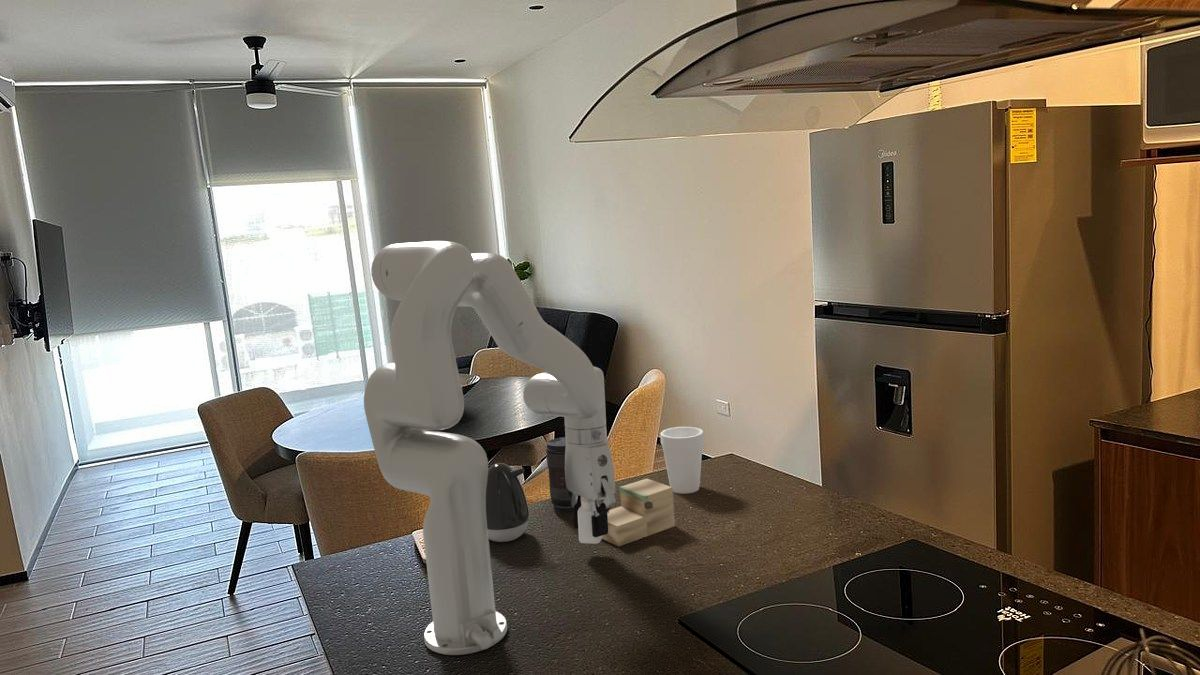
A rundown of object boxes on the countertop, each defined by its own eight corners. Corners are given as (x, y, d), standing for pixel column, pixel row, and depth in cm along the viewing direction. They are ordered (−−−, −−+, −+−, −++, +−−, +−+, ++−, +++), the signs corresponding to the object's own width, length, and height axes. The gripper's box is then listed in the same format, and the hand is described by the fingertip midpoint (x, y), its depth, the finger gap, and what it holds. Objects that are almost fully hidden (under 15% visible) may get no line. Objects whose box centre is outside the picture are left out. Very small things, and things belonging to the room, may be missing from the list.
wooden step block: (678, 527, 164) (675, 488, 163) (621, 548, 156) (619, 507, 155) (649, 515, 172) (646, 478, 170) (593, 534, 164) (590, 495, 162)
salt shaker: (583, 536, 156) (580, 487, 155) (604, 537, 156) (601, 487, 154) (578, 544, 152) (575, 493, 151) (599, 544, 152) (597, 494, 150)
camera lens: (595, 504, 181) (590, 437, 178) (574, 517, 174) (569, 447, 172) (565, 499, 185) (559, 434, 183) (543, 512, 178) (537, 444, 176)
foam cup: (661, 496, 183) (658, 438, 181) (665, 482, 192) (662, 427, 190) (705, 495, 181) (702, 437, 179) (707, 481, 190) (704, 426, 188)
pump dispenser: (519, 549, 159) (512, 472, 157) (470, 545, 163) (463, 470, 160) (540, 528, 169) (533, 456, 167) (493, 526, 172) (486, 455, 170)
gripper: (631, 438, 147) (635, 538, 149) (576, 424, 161) (581, 515, 163) (596, 446, 143) (601, 549, 145) (543, 430, 156) (548, 524, 159)
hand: (590, 530), depth 154 cm, fingers closed on salt shaker, 5 cm apart
